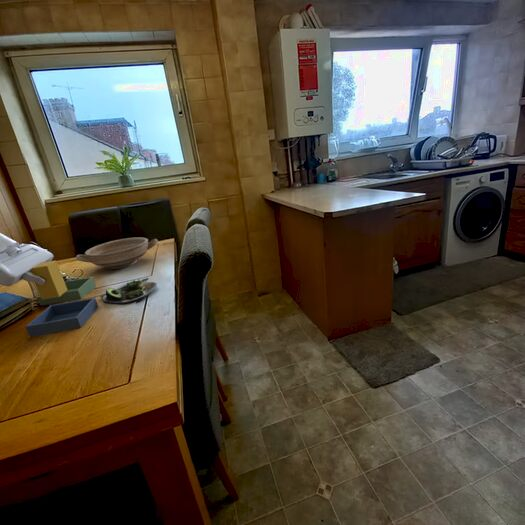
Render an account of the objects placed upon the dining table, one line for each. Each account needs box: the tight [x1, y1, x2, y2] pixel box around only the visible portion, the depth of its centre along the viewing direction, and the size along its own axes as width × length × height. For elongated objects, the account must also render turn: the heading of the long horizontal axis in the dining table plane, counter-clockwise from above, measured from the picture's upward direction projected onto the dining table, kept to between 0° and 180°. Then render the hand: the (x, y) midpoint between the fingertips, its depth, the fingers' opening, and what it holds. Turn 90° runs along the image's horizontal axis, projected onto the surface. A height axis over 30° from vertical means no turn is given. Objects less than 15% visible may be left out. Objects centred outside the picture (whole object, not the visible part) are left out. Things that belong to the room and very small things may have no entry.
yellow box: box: [30, 260, 67, 300], centre depth 83 cm, size 5×5×10 cm
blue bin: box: [25, 297, 99, 338], centre depth 88 cm, size 14×13×4 cm
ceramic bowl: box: [75, 236, 158, 270], centre depth 139 cm, size 37×29×10 cm
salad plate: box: [99, 277, 158, 306], centre depth 103 cm, size 19×18×5 cm
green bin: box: [36, 276, 96, 307], centre depth 108 cm, size 14×13×4 cm
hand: (50, 278), depth 83 cm, fingers closed on yellow box, 5 cm apart
